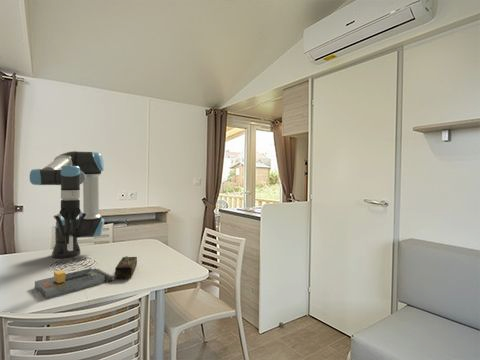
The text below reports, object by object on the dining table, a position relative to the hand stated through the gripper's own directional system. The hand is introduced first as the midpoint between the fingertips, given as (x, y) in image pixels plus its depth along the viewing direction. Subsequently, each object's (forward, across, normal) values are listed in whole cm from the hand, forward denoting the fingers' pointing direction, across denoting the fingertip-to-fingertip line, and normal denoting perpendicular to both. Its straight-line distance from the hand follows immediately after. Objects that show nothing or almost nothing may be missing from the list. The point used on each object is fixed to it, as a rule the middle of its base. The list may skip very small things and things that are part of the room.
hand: (70, 250), depth 130 cm
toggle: (+13, -4, 0) cm, 14 cm away
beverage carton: (+17, +26, -3) cm, 31 cm away
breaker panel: (+16, 0, 0) cm, 16 cm away
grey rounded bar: (+16, +14, 0) cm, 22 cm away
